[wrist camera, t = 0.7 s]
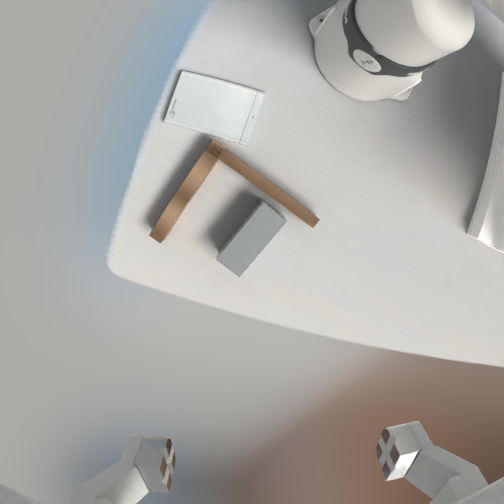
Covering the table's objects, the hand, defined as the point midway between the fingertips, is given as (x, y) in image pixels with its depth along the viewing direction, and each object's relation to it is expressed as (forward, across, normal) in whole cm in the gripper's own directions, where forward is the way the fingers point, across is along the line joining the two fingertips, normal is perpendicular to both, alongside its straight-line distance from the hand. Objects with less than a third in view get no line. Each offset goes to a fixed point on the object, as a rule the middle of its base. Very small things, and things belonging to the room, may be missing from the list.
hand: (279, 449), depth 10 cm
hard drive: (+37, +6, -18) cm, 42 cm away
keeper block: (+37, +1, 0) cm, 37 cm away
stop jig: (+37, +3, -2) cm, 37 cm away
